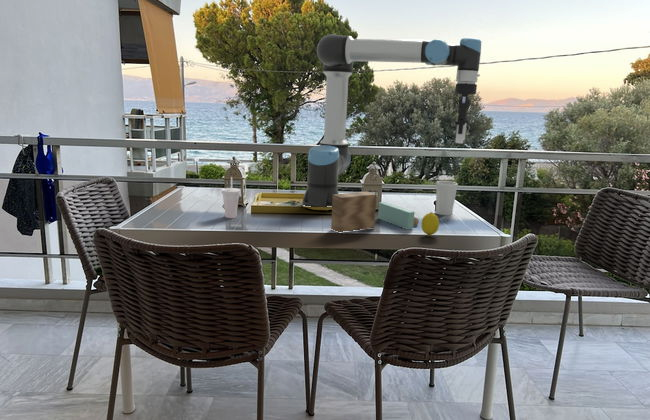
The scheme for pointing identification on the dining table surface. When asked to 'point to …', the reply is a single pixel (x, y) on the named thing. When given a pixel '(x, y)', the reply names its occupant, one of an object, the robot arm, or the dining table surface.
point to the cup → (445, 197)
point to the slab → (353, 211)
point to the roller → (416, 221)
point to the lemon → (430, 224)
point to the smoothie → (230, 201)
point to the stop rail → (396, 215)
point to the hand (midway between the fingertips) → (460, 141)
